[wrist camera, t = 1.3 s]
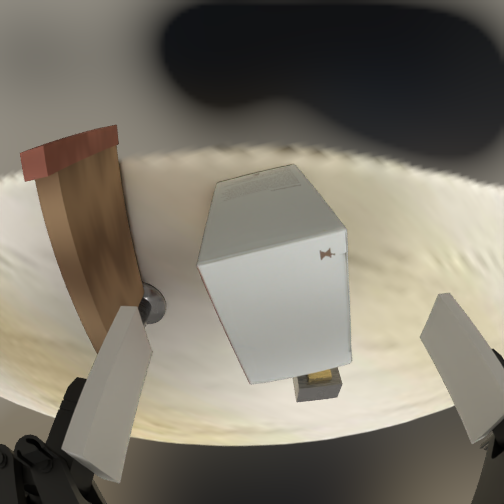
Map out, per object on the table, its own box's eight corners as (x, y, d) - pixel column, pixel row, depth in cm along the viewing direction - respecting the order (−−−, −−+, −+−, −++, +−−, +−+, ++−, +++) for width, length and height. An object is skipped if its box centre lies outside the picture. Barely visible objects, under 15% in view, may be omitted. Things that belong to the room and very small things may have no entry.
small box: (215, 181, 19) (190, 261, 10) (296, 162, 19) (349, 224, 9) (245, 276, 23) (247, 388, 14) (313, 261, 22) (353, 365, 13)
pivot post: (126, 319, 25) (97, 396, 17) (114, 281, 23) (72, 358, 15) (170, 320, 25) (149, 403, 17) (160, 281, 23) (130, 366, 15)
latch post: (272, 332, 26) (281, 411, 19) (273, 305, 24) (284, 387, 17) (324, 329, 26) (346, 403, 19) (329, 302, 24) (357, 378, 17)
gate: (145, 289, 23) (114, 366, 15) (124, 289, 23) (89, 363, 15) (116, 124, 16) (43, 145, 9) (91, 129, 16) (14, 154, 9)
